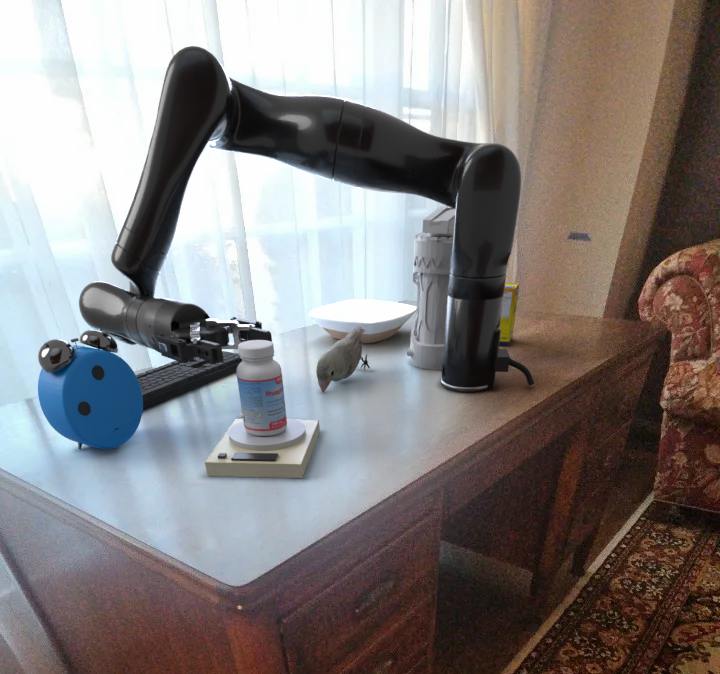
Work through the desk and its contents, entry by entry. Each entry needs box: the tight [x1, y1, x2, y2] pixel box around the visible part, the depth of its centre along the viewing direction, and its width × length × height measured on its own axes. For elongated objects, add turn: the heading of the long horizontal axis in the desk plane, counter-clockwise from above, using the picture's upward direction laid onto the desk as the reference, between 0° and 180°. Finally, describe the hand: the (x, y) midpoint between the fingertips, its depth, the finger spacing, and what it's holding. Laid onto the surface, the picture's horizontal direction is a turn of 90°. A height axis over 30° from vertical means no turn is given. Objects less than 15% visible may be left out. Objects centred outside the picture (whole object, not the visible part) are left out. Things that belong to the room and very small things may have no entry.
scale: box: [204, 416, 321, 479], centre depth 82 cm, size 13×16×3 cm
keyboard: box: [135, 350, 242, 411], centre depth 106 cm, size 35×11×2 cm, turn 149°
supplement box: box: [499, 282, 521, 346], centre depth 122 cm, size 6×6×11 cm
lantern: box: [406, 205, 456, 371], centre depth 108 cm, size 13×10×25 cm
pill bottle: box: [235, 340, 287, 436], centre depth 78 cm, size 6×6×11 cm
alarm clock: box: [37, 328, 144, 450], centre depth 81 cm, size 13×6×15 cm, turn 148°
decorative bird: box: [315, 326, 371, 393], centre depth 105 cm, size 5×16×8 cm, turn 154°
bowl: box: [307, 298, 417, 344], centre depth 130 cm, size 22×22×5 cm
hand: (246, 347), depth 76 cm, fingers open, 8 cm apart
